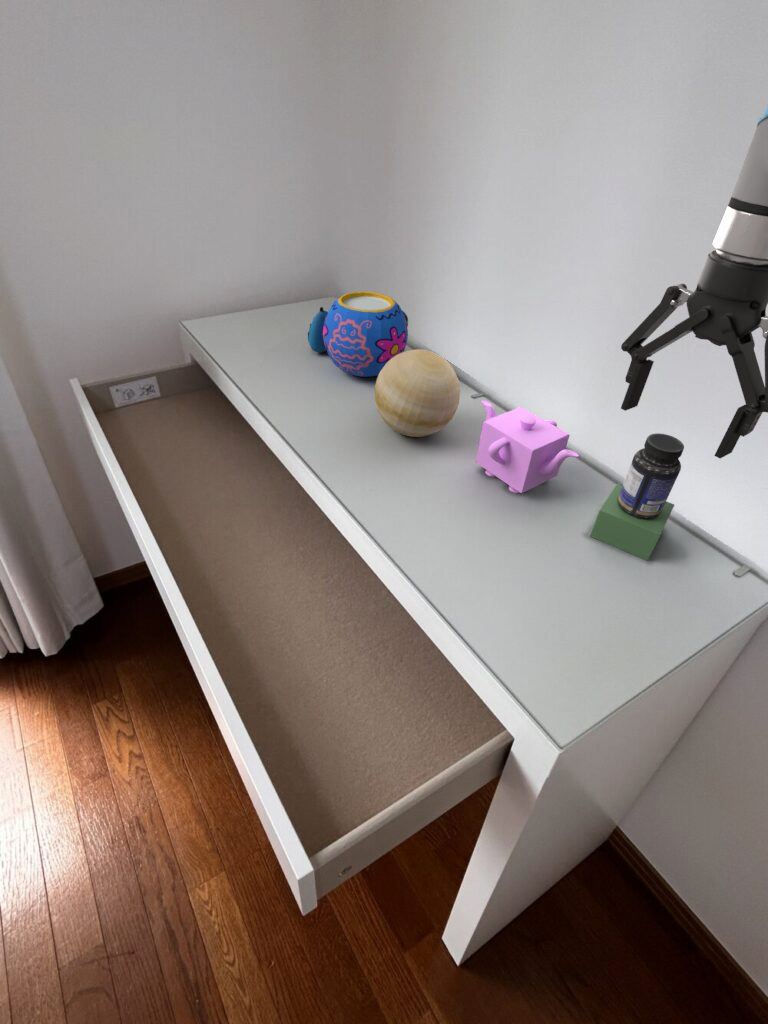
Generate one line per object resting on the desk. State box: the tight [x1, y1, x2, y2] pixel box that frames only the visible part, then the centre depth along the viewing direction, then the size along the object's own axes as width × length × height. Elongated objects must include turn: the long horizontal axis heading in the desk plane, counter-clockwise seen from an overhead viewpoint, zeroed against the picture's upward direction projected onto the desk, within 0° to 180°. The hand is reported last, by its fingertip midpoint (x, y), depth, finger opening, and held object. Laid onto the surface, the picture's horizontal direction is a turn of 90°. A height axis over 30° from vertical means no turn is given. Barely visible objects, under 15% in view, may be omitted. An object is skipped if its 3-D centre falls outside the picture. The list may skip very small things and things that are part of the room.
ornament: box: [307, 306, 328, 354], centre depth 126 cm, size 8×5×10 cm, turn 152°
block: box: [589, 482, 675, 561], centre depth 84 cm, size 8×8×5 cm
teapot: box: [475, 399, 579, 494], centre depth 92 cm, size 15×13×11 cm
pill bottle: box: [617, 432, 685, 519], centre depth 79 cm, size 6×6×11 cm
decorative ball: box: [374, 348, 461, 438], centre depth 100 cm, size 15×15×15 cm
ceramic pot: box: [323, 291, 409, 378], centre depth 118 cm, size 18×18×15 cm
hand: (673, 429), depth 74 cm, fingers open, 13 cm apart
